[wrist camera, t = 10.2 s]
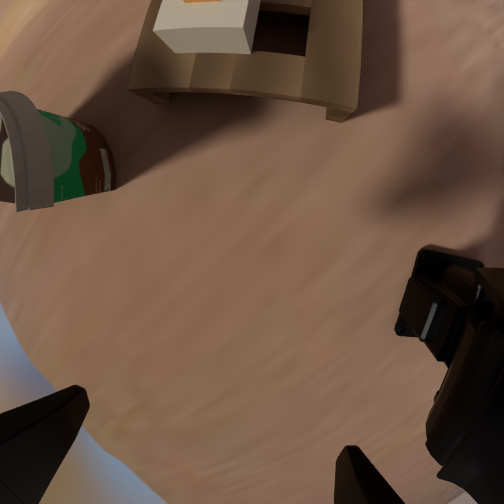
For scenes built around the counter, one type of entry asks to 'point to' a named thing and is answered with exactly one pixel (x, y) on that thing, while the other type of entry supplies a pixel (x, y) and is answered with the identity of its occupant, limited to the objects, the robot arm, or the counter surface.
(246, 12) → the power strip
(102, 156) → the food container
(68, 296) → the counter surface
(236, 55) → the keyhole board
